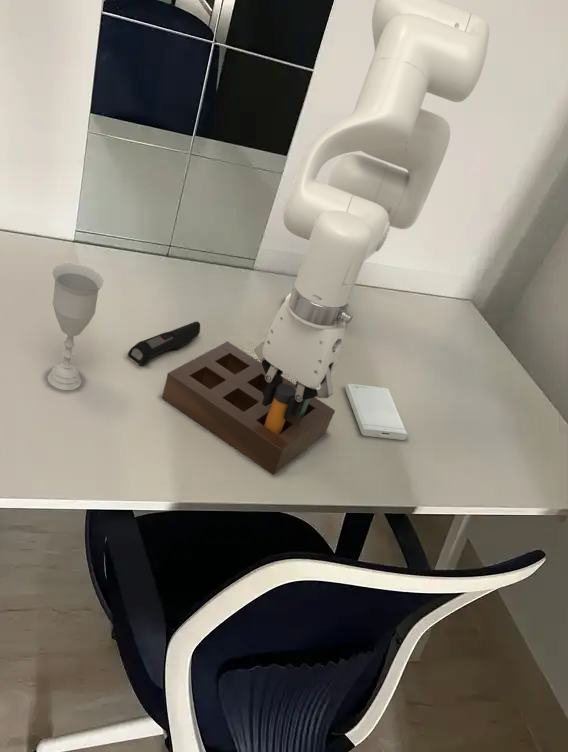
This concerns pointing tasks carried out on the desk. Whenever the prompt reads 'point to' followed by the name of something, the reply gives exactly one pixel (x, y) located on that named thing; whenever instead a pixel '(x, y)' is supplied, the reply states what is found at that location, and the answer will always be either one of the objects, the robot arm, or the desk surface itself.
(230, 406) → the rack
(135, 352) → the electric trimmer
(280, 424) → the amber tube
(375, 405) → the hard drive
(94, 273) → the chalice
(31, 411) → the desk surface
